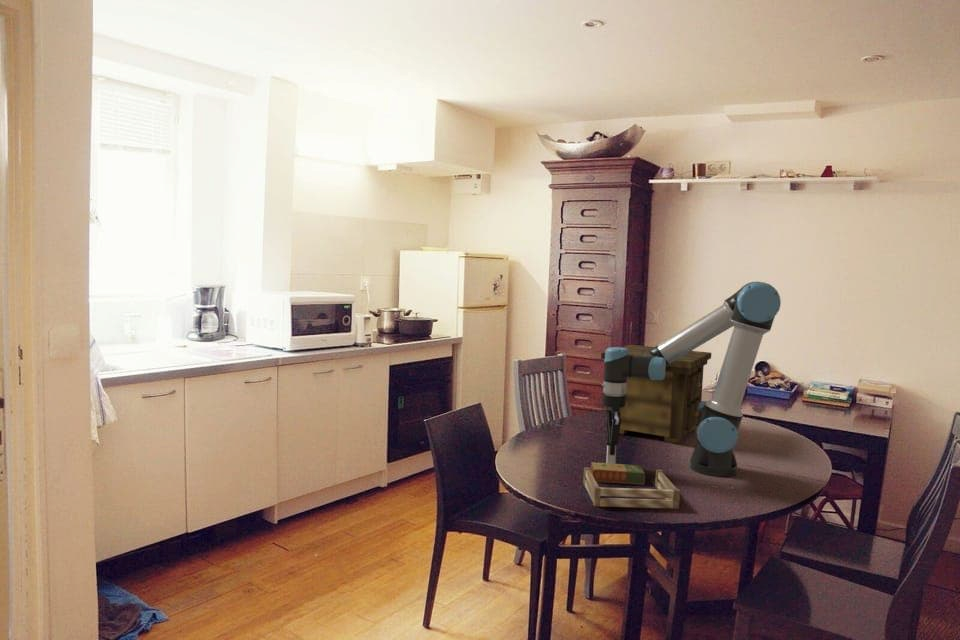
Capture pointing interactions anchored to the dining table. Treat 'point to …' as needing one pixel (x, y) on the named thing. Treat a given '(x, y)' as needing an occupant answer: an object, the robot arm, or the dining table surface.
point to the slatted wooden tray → (634, 493)
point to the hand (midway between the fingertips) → (610, 463)
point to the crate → (665, 397)
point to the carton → (617, 473)
